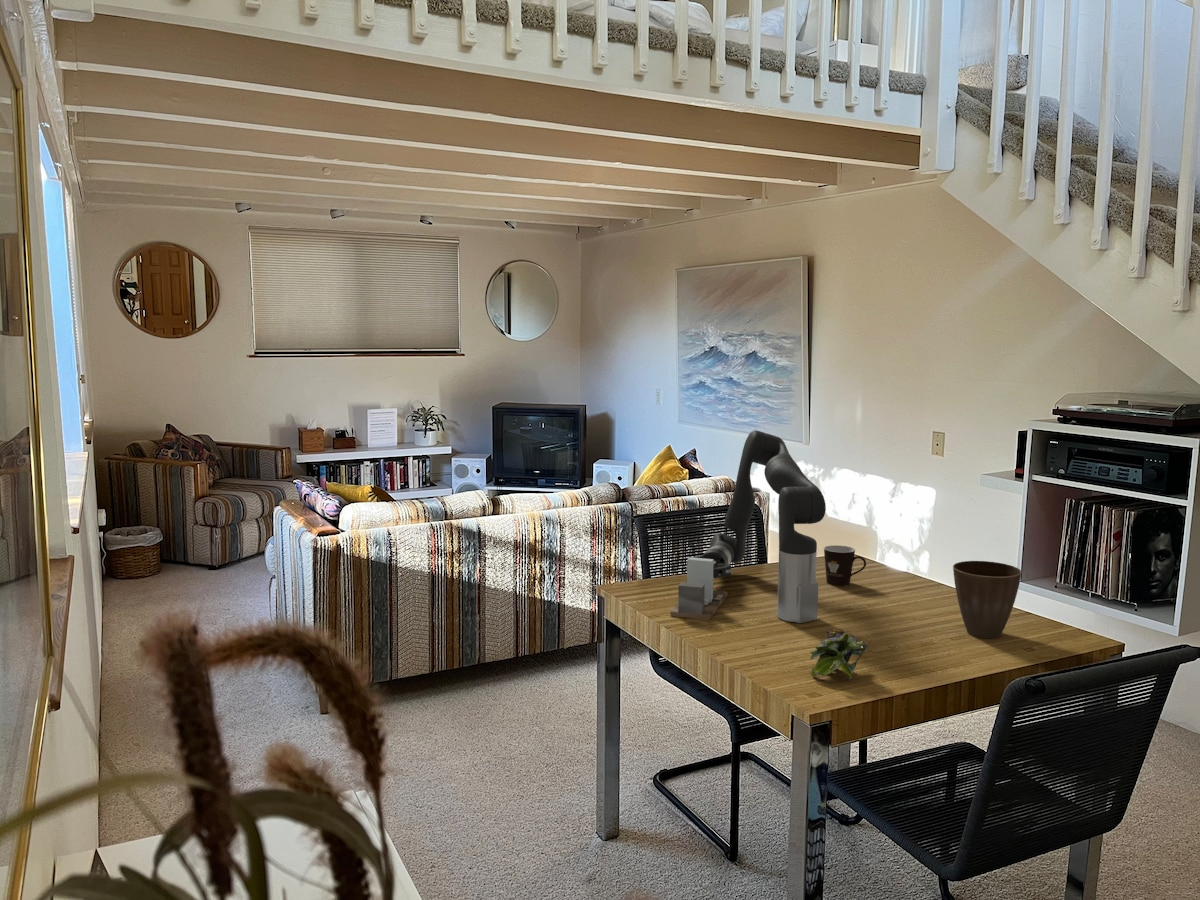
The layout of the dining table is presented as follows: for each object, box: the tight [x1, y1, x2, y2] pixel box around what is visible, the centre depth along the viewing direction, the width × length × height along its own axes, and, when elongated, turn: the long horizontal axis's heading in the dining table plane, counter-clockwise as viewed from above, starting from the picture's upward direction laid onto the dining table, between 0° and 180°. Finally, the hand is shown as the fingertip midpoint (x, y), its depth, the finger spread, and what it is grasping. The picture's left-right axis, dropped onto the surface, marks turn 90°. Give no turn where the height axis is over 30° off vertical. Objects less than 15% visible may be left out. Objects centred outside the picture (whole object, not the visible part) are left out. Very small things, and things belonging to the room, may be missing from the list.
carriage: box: [686, 556, 720, 605], centre depth 236 cm, size 8×8×11 cm
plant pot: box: [952, 560, 1022, 639], centre depth 217 cm, size 15×15×16 cm
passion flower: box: [809, 629, 869, 683], centre depth 191 cm, size 11×11×12 cm
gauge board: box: [670, 581, 728, 621], centre depth 239 cm, size 22×10×8 cm, turn 160°
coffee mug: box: [823, 544, 867, 587], centre depth 259 cm, size 12×9×10 cm
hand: (701, 576), depth 239 cm, fingers closed
